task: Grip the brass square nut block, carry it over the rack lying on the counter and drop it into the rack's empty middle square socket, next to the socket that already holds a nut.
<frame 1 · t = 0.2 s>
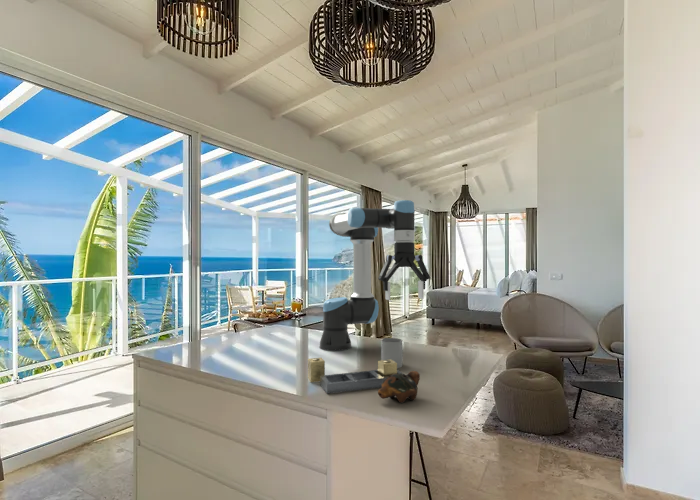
hand: (404, 299, 147), 28 cm above the countertop, fingers open, 13 cm apart
rack: (363, 384, 135), on the countertop
cup: (392, 365, 158), on the countertop
decorative turtle: (400, 400, 121), on the countertop
brass nut: (316, 379, 140), on the countertop
seated nut: (387, 381, 138), resting in rack
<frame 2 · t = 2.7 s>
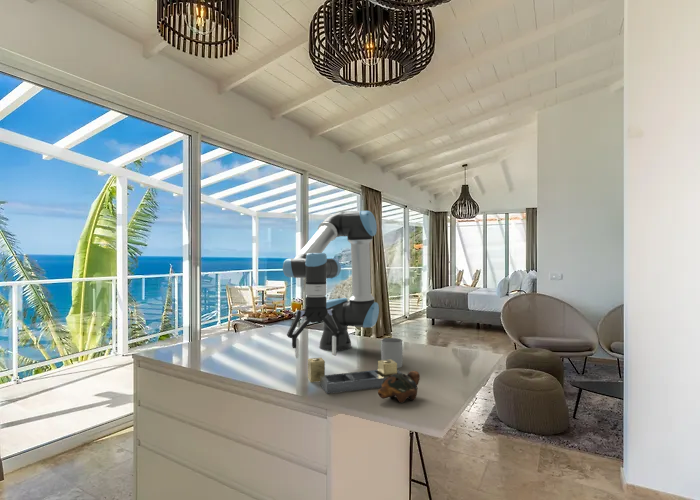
hand: (315, 356, 140), 8 cm above the countertop, fingers open, 13 cm apart
nothing on the countertop moved.
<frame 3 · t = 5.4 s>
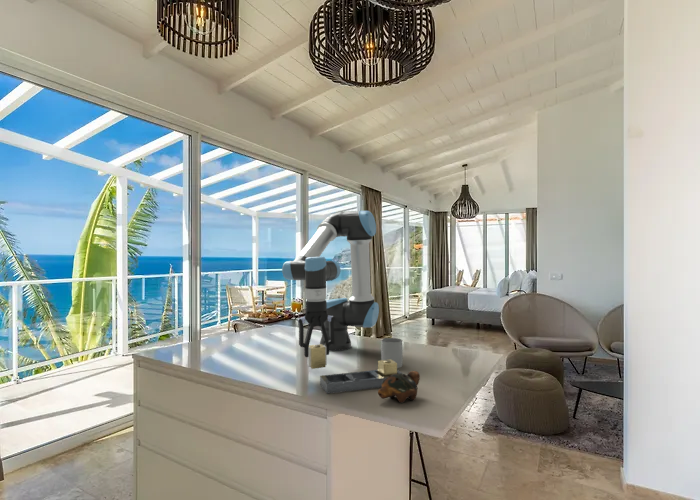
hand: (316, 364, 141), 5 cm above the countertop, fingers closed on brass nut, 5 cm apart
brass nut: (317, 366, 141), point 5 cm above the countertop, touching gripper
everything else where it was.
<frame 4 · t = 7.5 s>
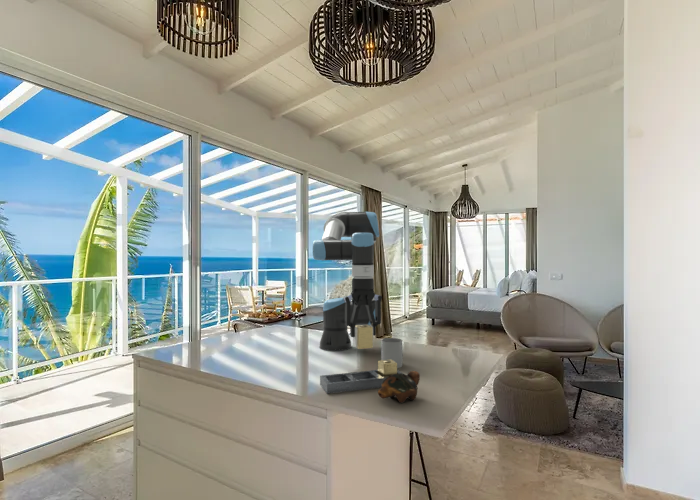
hand: (363, 345, 135), 13 cm above the countertop, fingers closed on brass nut, 5 cm apart
brass nut: (363, 346, 135), point 13 cm above the countertop, touching gripper
everything else where it was.
when the fingers open (3 cm above the countertop, at t = 9.8 s): brass nut drops 3 cm, resting in rack.
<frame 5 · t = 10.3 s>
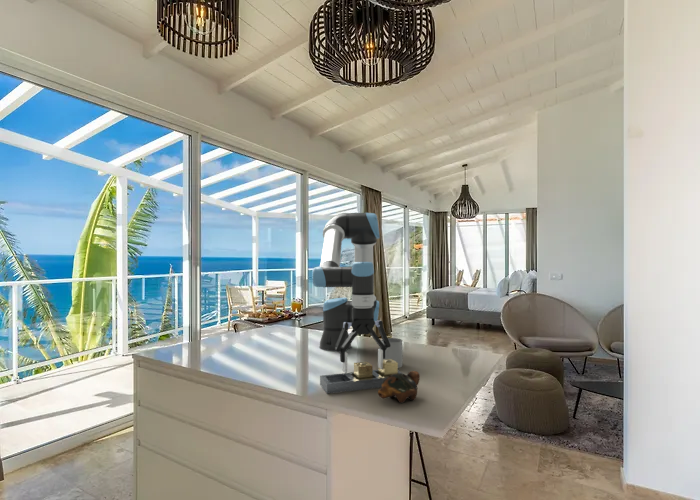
hand: (363, 369, 135), 5 cm above the countertop, fingers open, 12 cm apart
brass nut: (363, 384, 135), resting in rack
seated nut: (387, 381, 138), resting in rack, touching gripper
everything else where it was.
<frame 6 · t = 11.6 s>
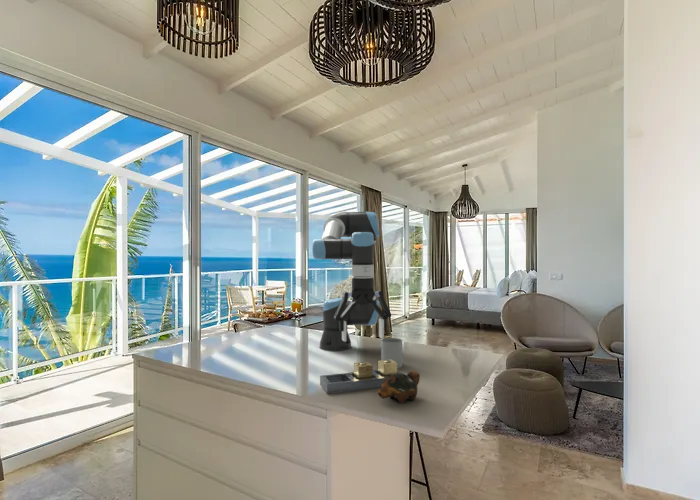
hand: (363, 339, 135), 15 cm above the countertop, fingers open, 13 cm apart
seated nut: (387, 381, 138), resting in rack
everything else where it was.
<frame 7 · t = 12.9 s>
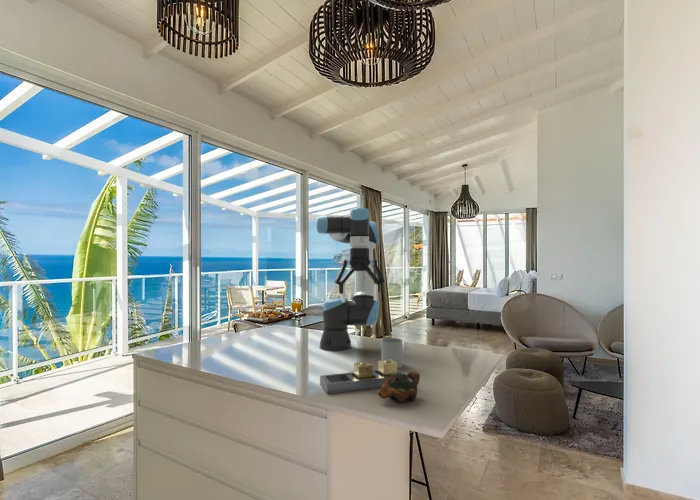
hand: (359, 301, 156), 26 cm above the countertop, fingers open, 13 cm apart
nothing on the countertop moved.
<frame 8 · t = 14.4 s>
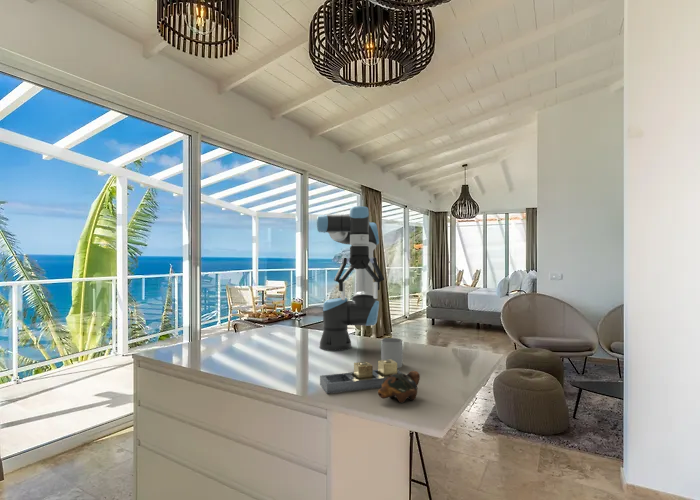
hand: (359, 299, 157), 27 cm above the countertop, fingers open, 13 cm apart
nothing on the countertop moved.
at the end: brass nut 0.1 cm off-centre on the rack, point 0.0 cm above the rack's base; brass nut tilted 0°; the gripper is holding nothing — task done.
